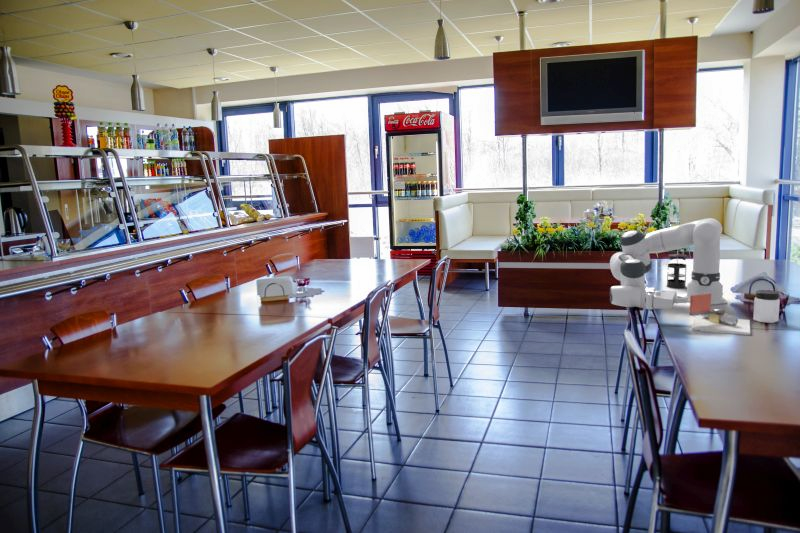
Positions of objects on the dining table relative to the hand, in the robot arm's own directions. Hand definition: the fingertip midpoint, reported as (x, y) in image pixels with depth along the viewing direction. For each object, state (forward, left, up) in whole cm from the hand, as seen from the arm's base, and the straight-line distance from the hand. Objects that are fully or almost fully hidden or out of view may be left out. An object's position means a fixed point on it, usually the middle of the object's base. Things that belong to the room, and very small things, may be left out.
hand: (687, 300), depth 251 cm
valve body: (-8, +12, -11) cm, 18 cm away
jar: (-22, +28, -11) cm, 38 cm away
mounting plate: (-5, +12, -11) cm, 17 cm away
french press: (-88, -10, -11) cm, 89 cm away
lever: (-4, +7, -6) cm, 10 cm away
